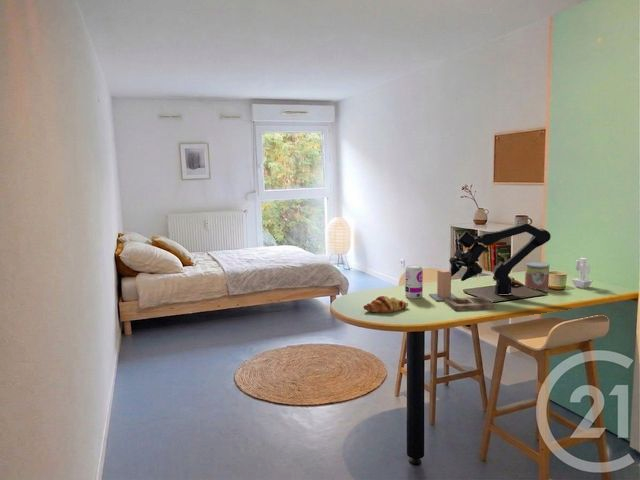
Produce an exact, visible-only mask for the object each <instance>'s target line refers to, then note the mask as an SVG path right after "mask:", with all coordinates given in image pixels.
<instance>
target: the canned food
mask: <svg viewBox="0 0 640 480" xmlns="http://www.w3.org/2000/svg"><path fill="white" fill-rule="evenodd" d="M524 274H525V275H524V287H525V286H527V287H531V288H535V289H534V290H536V289H539V290H538V291H541V290H542V291H543V290H549V288H548V287H549V286H548V284H549V282H550V264H549V263H546V262H542V261H539V262H538V261H531V262H530V261H529V262H526V263H525V273H524ZM549 285H550V284H549Z"/></svg>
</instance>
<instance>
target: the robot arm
mask: <svg viewBox="0 0 640 480" xmlns="http://www.w3.org/2000/svg"><path fill="white" fill-rule="evenodd" d="M524 233H528V234H529V235H532V236H531V238H530V239H529V241H528V242H527V243H526V244H524V245H523V246H522V247H520V249H519V250H517V252H516V253H514V254H513V255H512V256H510V258H508V259H507V260H506V261H502V260H500V261H499V262H498V263H497V264H496V265H494V266H493V267H494V268H493V270H492V274H493V276H495V278H496V279H498V280H499V281H498V280H495V281H496V282H495V285H494V287H495V288H494V292H495V294H496V293H497V294H496V295H498V294H509V293H511V294H512V286H511V278H510V277H511V276H509V274H510V273H511V271H512V270H513V268H515V266H517V264H519V263H520V262H521V261H523V259H525V258H526V257H527V256H528V255H530V253H532V252H533V251H535V249H536V248H538V247H541V246H542V245H543V246H544V245H545V244H547V243H548V242H549V241H550V240H551V238H552V237H551V236H552V235H551V232H549V231H548V230H547V229H544V228H537V227H535V226H533V225H531V224H530V223H527V222H523V223H522V224H517V225H515V226H512V227H508V228H505V229H500V230H498V231H497V230H496V231H494V230H493V231H487V232H483V233H481V235H478V236H473V235H472V234H470V232H469V231H467V230H466V231H464V232H463V233H462V234H461V235H460V236H459V237H458V239H456V242H457V243H458V244H460V245H461V246H462V247H463V248H465V249H467V248H469V250H460V249H456V250H455V252H454V254H453V256H452V257H450V258H449V260H448V261H449V264H450V265H451V266H450V270H449V271H451V278H452V277H454V275H456V274H457V273H459V271H461V268H466V271H465V272H464V274H463V276H462V277H461V279H460V281H461V282H464V281H466V280H467V279H470V278H472V277H475V276H478V275H481V274H482V273H483V267H482V266H481V265H480V264H479V263H478V262H480V259H479V258H480V257H481V256H482V254H483V253H485V254H487V253H489V252H490V249H489V246H491V245H493V244H494V243H495V244H496V243H497V242H498V241H501V240H503V239H507V238H509V237H513V236H517V235H521V234H524Z"/></svg>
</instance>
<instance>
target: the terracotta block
mask: <svg viewBox="0 0 640 480" xmlns="http://www.w3.org/2000/svg"><path fill="white" fill-rule="evenodd" d="M436 292H437V293H436V294H437V296H439V297H442V298H447V297H451V293H452V277H451V271H450V270H448V269H439V270H437V289H436Z"/></svg>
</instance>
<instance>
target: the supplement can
mask: <svg viewBox="0 0 640 480" xmlns="http://www.w3.org/2000/svg"><path fill="white" fill-rule="evenodd" d="M404 269H405V270H404V272H405V273H404V275H405V276H404V277H405V279H404V284H405V285H404V287H405V288H404V291H405V297H406V298H408V299H413V300H415V299H421V298H422V296H423V280H424V279H423V275H424V274H423V271H424V270H423V268H422V266H421V265H417V264H416V265H415V264H411V265H407V266H406V267H405V268H404Z"/></svg>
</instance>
